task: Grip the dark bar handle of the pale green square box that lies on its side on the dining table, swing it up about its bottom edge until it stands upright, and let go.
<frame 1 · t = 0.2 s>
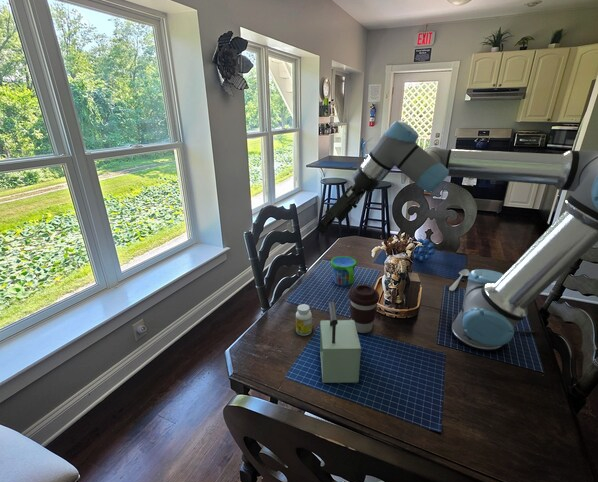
hand: (329, 224, 102), 36 cm above the table, tool tilted 35°, fingers open, 13 cm apart
coffee cup: (361, 327, 111), on the table
supplement bottle: (303, 331, 109), on the table
grapes: (421, 260, 156), on the table
snack cup: (342, 282, 139), on the table
pale green square box: (339, 339, 91), point 10 cm above the table, hinge at 90.0°
spoon: (458, 281, 138), on the table
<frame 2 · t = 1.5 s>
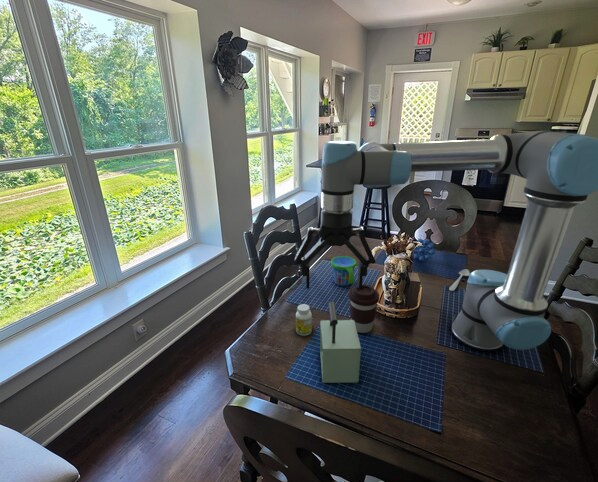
hand: (333, 286, 84), 27 cm above the table, tool pointing down, fingers open, 13 cm apart
nothing on the table moved.
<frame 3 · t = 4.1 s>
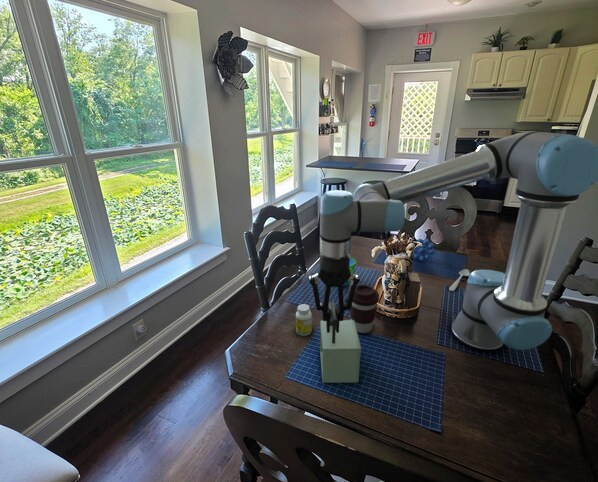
hand: (332, 329, 89), 13 cm above the table, tool pointing down, fingers closed on pale green square box, 2 cm apart
pale green square box: (339, 339, 91), point 10 cm above the table, hinge at 90.0°, touching gripper
everything else where it was.
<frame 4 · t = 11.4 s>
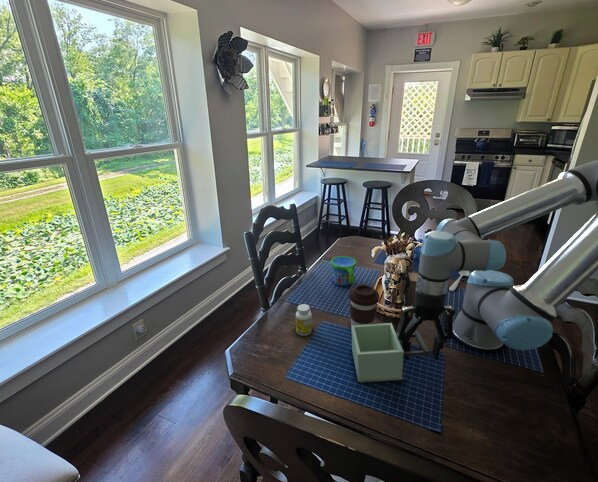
hand: (420, 356, 93), 3 cm above the table, tool pointing down, fingers open, 8 cm apart
pale green square box: (389, 350, 92), point 6 cm above the table, hinge at 4.2°, touching gripper, hand
everything else where it was.
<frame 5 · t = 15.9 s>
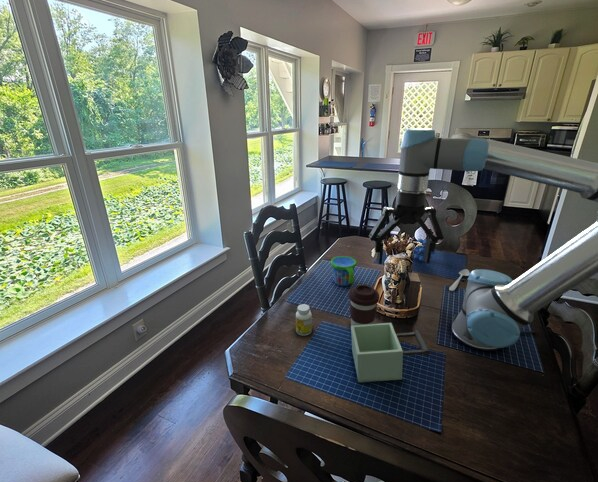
hand: (402, 261, 93), 29 cm above the table, tool pointing down, fingers open, 13 cm apart
pale green square box: (389, 350, 92), point 6 cm above the table, hinge at 5.0°
everything else where it was.
at the end: pale green square box at +5° (first picture: +90°); the gripper is holding nothing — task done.
